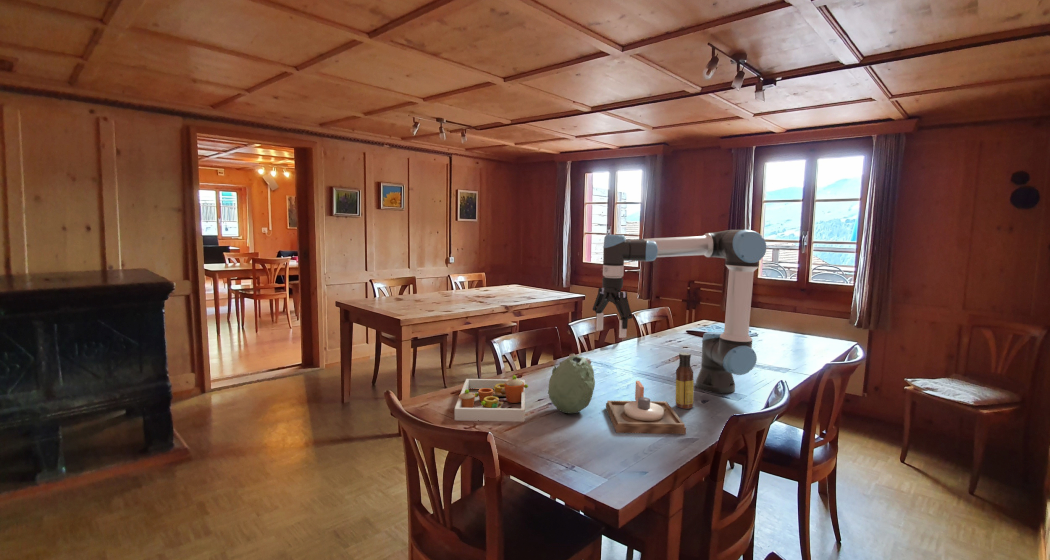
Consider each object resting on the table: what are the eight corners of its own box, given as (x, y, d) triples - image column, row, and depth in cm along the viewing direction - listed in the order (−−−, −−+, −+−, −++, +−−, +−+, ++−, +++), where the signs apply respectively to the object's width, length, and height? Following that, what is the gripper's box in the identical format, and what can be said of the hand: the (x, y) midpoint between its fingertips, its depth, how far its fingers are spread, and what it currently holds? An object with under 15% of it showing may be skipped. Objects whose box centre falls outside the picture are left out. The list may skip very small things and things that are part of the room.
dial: (668, 421, 166) (669, 397, 165) (628, 420, 166) (629, 396, 165) (654, 402, 184) (655, 380, 183) (618, 402, 184) (619, 380, 183)
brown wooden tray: (666, 409, 184) (667, 401, 184) (685, 434, 162) (686, 424, 162) (605, 408, 184) (606, 400, 184) (616, 432, 162) (617, 423, 162)
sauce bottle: (693, 405, 189) (695, 352, 187) (692, 410, 183) (695, 356, 181) (674, 402, 191) (677, 350, 189) (673, 408, 185) (676, 354, 183)
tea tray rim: (524, 389, 204) (524, 379, 203) (524, 421, 170) (524, 409, 170) (466, 388, 204) (466, 378, 203) (454, 420, 170) (454, 408, 170)
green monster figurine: (538, 415, 176) (539, 358, 174) (562, 399, 192) (564, 347, 190) (580, 425, 168) (581, 366, 166) (601, 408, 184) (603, 353, 182)
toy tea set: (502, 390, 202) (502, 366, 201) (531, 399, 191) (532, 374, 190) (451, 407, 182) (451, 381, 181) (481, 418, 172) (481, 390, 171)
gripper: (584, 274, 196) (582, 328, 198) (627, 280, 174) (624, 341, 177) (600, 273, 200) (598, 326, 202) (643, 279, 178) (641, 339, 180)
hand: (610, 333), depth 189 cm, fingers open, 13 cm apart
